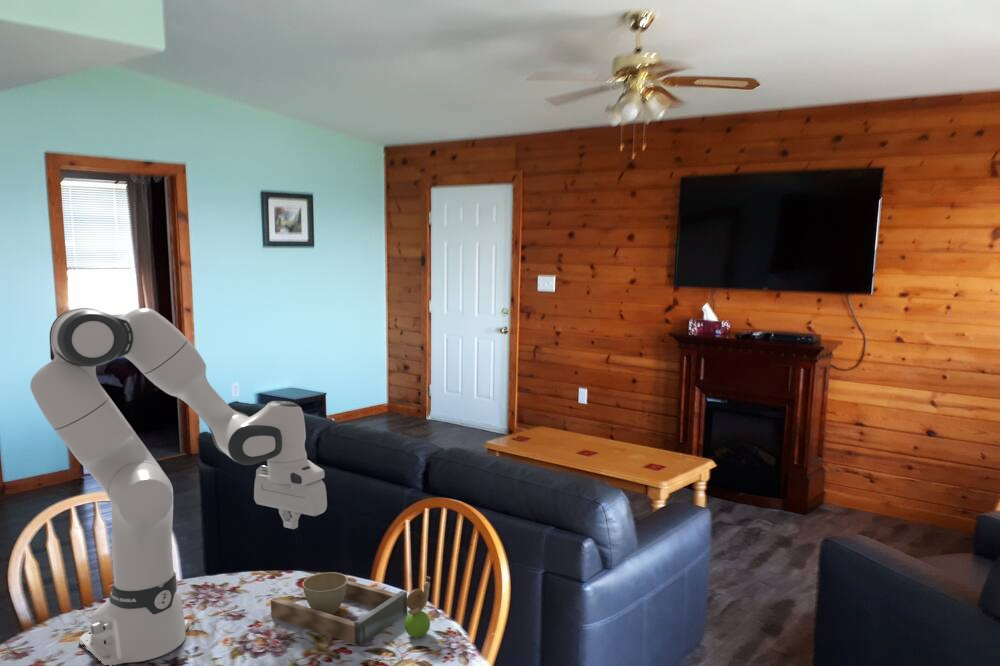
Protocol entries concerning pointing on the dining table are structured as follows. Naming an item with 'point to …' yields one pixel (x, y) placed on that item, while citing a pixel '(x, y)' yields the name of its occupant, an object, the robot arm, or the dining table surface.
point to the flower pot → (325, 591)
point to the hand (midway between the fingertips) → (290, 527)
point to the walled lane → (357, 632)
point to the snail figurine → (417, 612)
